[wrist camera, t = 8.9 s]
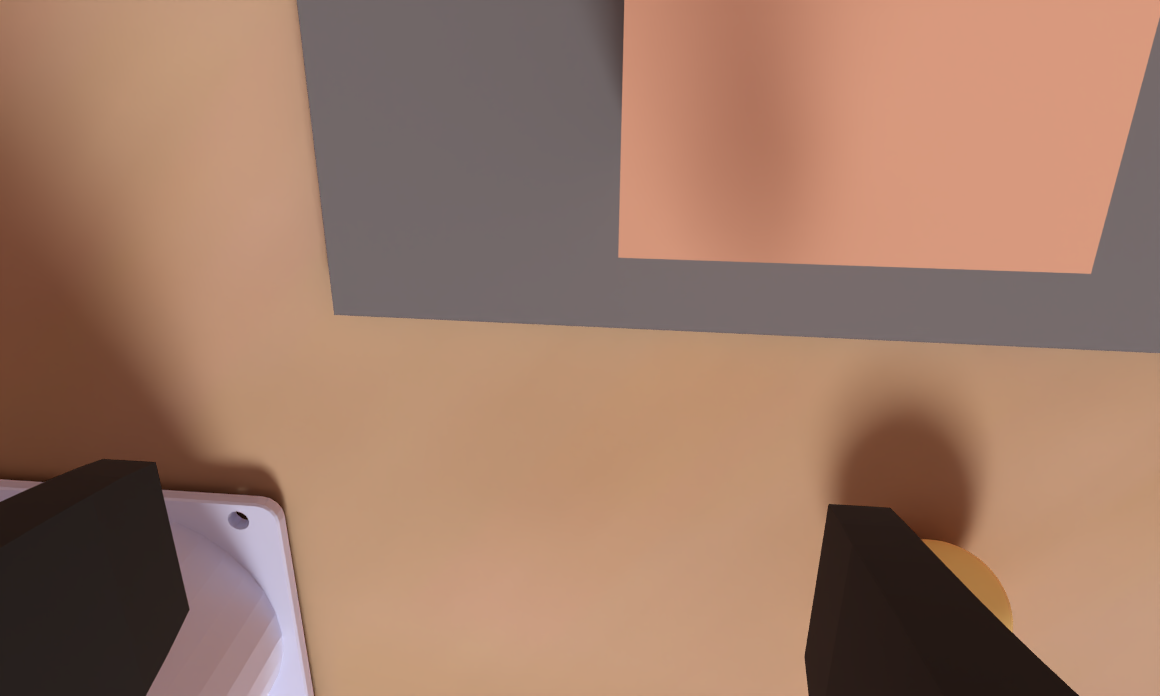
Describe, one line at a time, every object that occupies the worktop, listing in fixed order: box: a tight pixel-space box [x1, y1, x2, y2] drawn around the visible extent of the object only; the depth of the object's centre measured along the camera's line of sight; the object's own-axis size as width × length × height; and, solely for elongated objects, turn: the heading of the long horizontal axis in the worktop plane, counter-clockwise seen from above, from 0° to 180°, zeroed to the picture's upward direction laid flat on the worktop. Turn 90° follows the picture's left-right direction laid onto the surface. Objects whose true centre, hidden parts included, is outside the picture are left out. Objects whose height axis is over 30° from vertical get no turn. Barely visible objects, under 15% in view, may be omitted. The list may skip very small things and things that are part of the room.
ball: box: [921, 539, 1013, 633], centre depth 19 cm, size 3×3×3 cm
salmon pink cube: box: [618, 0, 1160, 274], centre depth 12 cm, size 6×6×6 cm
